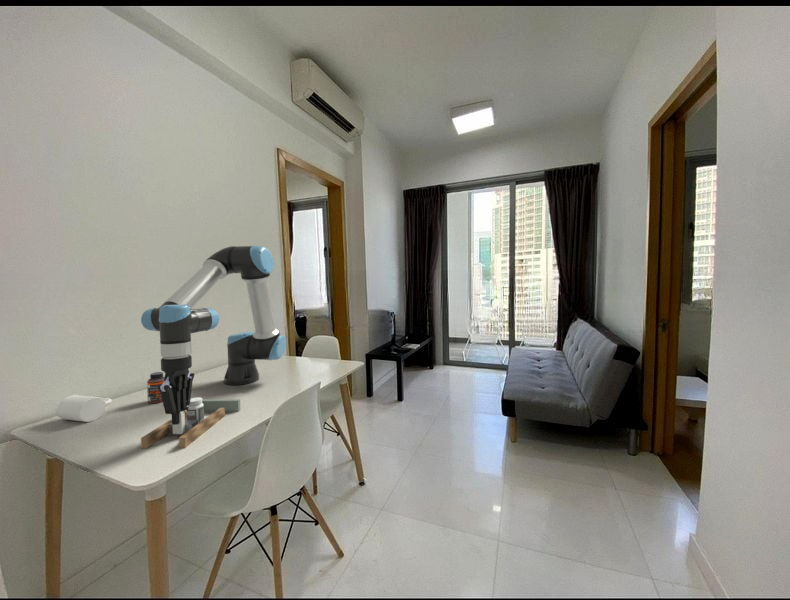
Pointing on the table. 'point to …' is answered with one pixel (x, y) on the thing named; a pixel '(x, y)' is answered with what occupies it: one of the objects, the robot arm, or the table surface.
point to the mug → (82, 408)
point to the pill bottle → (196, 410)
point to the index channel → (188, 436)
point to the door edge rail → (221, 405)
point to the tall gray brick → (188, 425)
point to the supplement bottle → (154, 387)
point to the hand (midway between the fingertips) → (179, 432)
